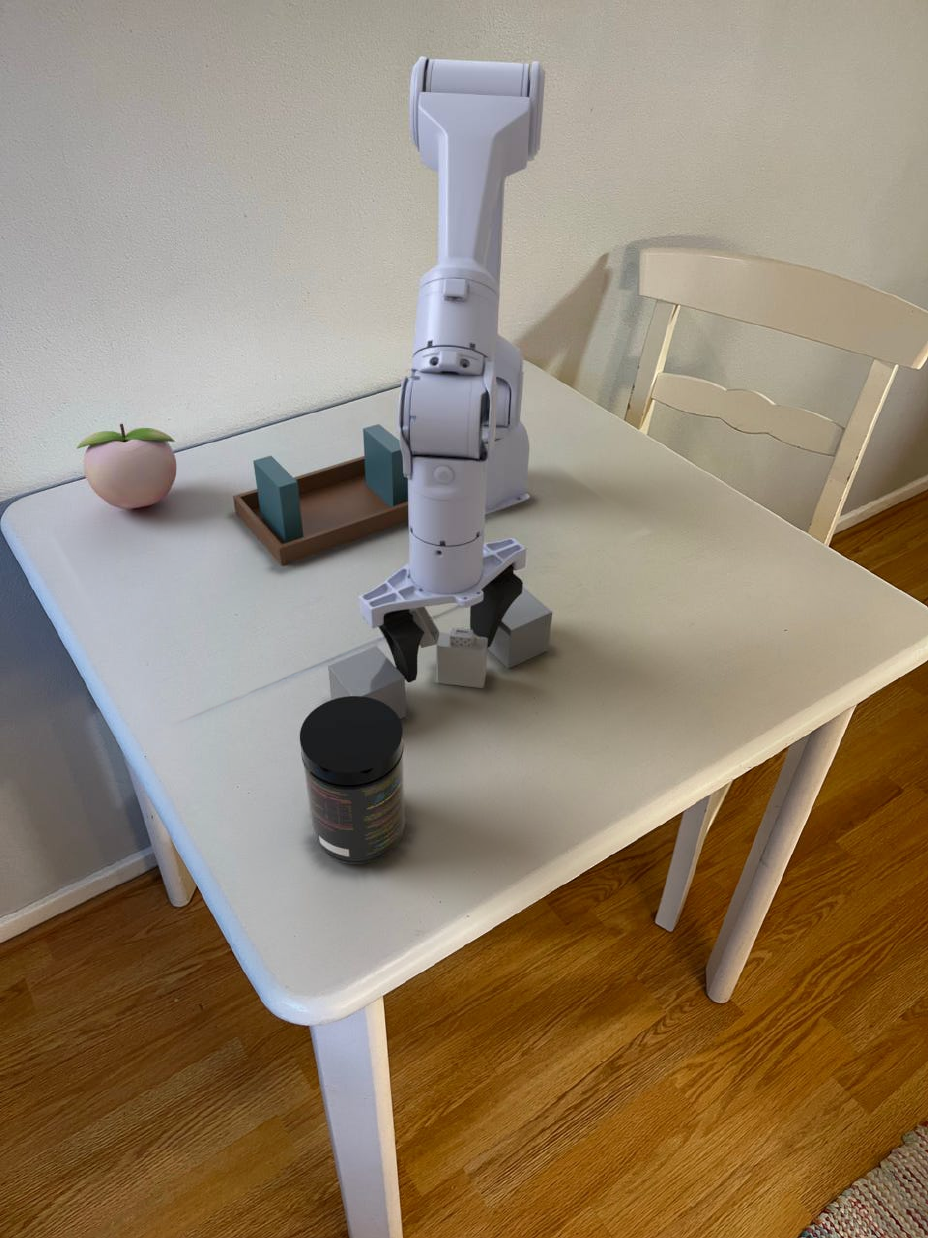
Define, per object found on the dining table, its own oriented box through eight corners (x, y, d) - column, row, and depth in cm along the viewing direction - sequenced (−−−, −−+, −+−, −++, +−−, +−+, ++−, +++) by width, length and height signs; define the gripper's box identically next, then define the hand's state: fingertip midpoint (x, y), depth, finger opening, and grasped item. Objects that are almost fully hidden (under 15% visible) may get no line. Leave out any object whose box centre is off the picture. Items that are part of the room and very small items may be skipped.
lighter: (485, 674, 78) (490, 603, 73) (483, 688, 77) (487, 616, 72) (405, 665, 79) (404, 594, 74) (401, 678, 77) (400, 607, 72)
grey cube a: (518, 622, 83) (521, 584, 81) (548, 650, 81) (552, 612, 78) (478, 640, 81) (480, 601, 79) (508, 669, 79) (511, 630, 76)
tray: (383, 468, 104) (382, 449, 102) (436, 514, 97) (436, 495, 95) (235, 515, 96) (232, 495, 94) (281, 569, 89) (279, 549, 87)
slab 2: (381, 479, 101) (378, 423, 96) (409, 504, 97) (408, 447, 93) (365, 484, 100) (362, 428, 96) (393, 509, 96) (391, 452, 92)
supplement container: (420, 808, 67) (419, 711, 60) (382, 882, 62) (376, 785, 55) (338, 782, 69) (328, 685, 62) (295, 851, 64) (279, 754, 57)
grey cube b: (378, 684, 77) (376, 645, 74) (405, 716, 74) (405, 677, 71) (331, 705, 75) (327, 665, 72) (358, 739, 72) (355, 699, 69)
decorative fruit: (101, 539, 92) (76, 453, 85) (91, 499, 97) (67, 415, 91) (194, 520, 95) (177, 435, 88) (179, 481, 100) (162, 399, 94)
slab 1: (278, 512, 95) (271, 454, 91) (304, 540, 92) (297, 481, 87) (261, 518, 95) (252, 460, 90) (286, 546, 91) (279, 487, 86)
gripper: (390, 584, 62) (395, 720, 71) (555, 521, 68) (540, 653, 77) (341, 534, 66) (351, 668, 75) (500, 479, 73) (492, 608, 81)
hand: (444, 657), depth 76 cm, fingers open, 7 cm apart
